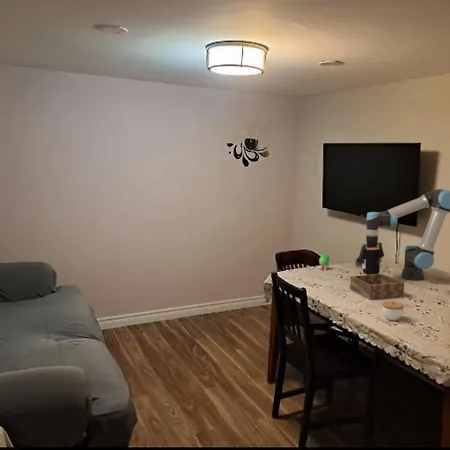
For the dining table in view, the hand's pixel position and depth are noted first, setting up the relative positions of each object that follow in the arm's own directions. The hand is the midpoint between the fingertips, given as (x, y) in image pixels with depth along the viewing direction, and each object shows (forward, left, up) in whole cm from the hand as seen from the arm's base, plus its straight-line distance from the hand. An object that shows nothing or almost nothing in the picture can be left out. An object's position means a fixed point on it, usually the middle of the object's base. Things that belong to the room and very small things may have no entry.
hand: (371, 267), depth 308 cm
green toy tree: (+15, -42, -11) cm, 46 cm away
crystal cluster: (-21, -43, -11) cm, 49 cm away
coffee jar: (0, 0, -4) cm, 4 cm away
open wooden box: (+10, +22, -10) cm, 26 cm away
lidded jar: (+28, +64, -11) cm, 71 cm away
